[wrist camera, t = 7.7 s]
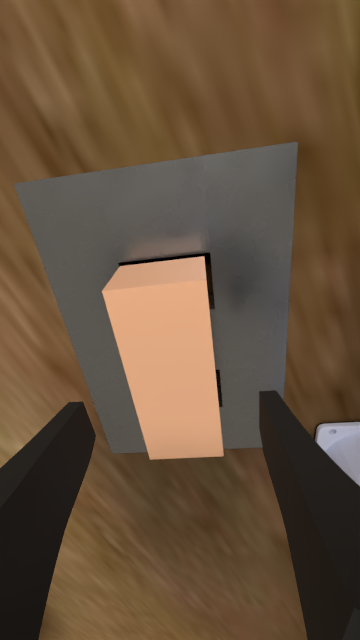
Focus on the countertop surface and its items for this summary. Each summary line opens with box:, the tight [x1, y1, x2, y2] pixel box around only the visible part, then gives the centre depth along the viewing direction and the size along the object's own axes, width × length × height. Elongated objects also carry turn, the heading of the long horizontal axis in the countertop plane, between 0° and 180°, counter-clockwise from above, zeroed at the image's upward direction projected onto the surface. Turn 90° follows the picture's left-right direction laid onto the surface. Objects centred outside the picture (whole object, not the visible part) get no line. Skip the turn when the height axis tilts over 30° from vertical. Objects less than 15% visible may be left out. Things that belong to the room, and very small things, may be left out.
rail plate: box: [14, 142, 298, 454], centre depth 17 cm, size 12×18×2 cm, turn 7°
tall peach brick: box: [102, 256, 224, 460], centre depth 16 cm, size 4×10×6 cm, turn 8°
